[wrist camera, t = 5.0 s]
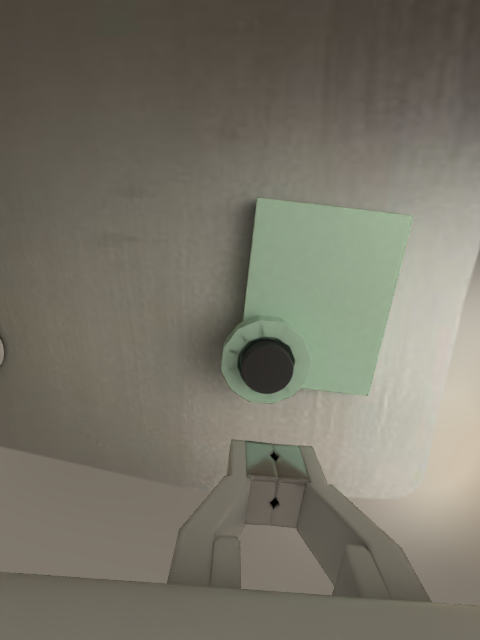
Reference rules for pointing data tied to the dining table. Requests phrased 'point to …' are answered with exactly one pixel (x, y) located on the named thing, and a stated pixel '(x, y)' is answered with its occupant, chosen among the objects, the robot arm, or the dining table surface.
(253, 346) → the tare button
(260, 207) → the scale
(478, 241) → the dining table surface
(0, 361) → the supplement bottle
